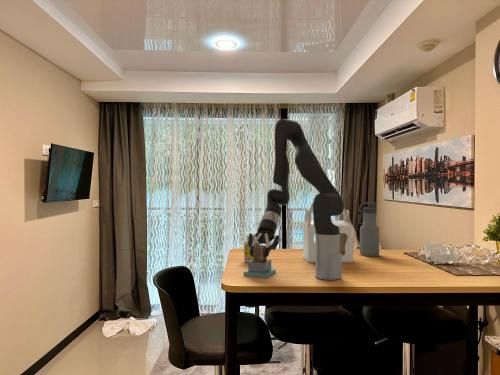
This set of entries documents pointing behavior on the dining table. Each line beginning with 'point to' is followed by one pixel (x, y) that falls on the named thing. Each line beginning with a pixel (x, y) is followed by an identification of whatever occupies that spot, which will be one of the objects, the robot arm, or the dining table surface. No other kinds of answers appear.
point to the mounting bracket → (437, 257)
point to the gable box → (344, 237)
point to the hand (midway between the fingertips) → (258, 255)
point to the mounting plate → (261, 275)
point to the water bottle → (369, 230)
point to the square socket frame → (259, 266)
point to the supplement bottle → (247, 250)
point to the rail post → (259, 253)
